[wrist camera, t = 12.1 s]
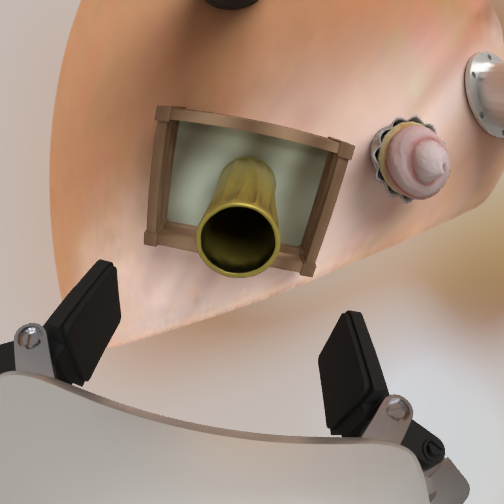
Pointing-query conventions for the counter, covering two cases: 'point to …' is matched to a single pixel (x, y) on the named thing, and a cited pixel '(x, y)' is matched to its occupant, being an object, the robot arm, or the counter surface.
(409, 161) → the cupcake
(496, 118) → the robot arm
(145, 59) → the counter surface
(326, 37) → the counter surface
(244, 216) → the vase
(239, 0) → the travel mug
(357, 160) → the counter surface
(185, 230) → the tray
